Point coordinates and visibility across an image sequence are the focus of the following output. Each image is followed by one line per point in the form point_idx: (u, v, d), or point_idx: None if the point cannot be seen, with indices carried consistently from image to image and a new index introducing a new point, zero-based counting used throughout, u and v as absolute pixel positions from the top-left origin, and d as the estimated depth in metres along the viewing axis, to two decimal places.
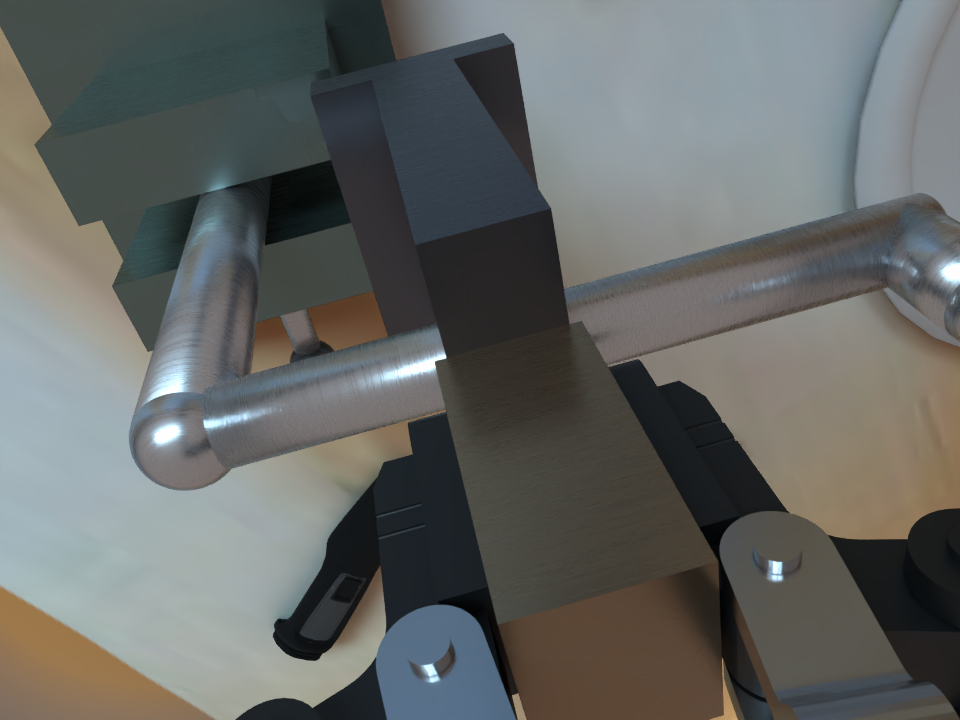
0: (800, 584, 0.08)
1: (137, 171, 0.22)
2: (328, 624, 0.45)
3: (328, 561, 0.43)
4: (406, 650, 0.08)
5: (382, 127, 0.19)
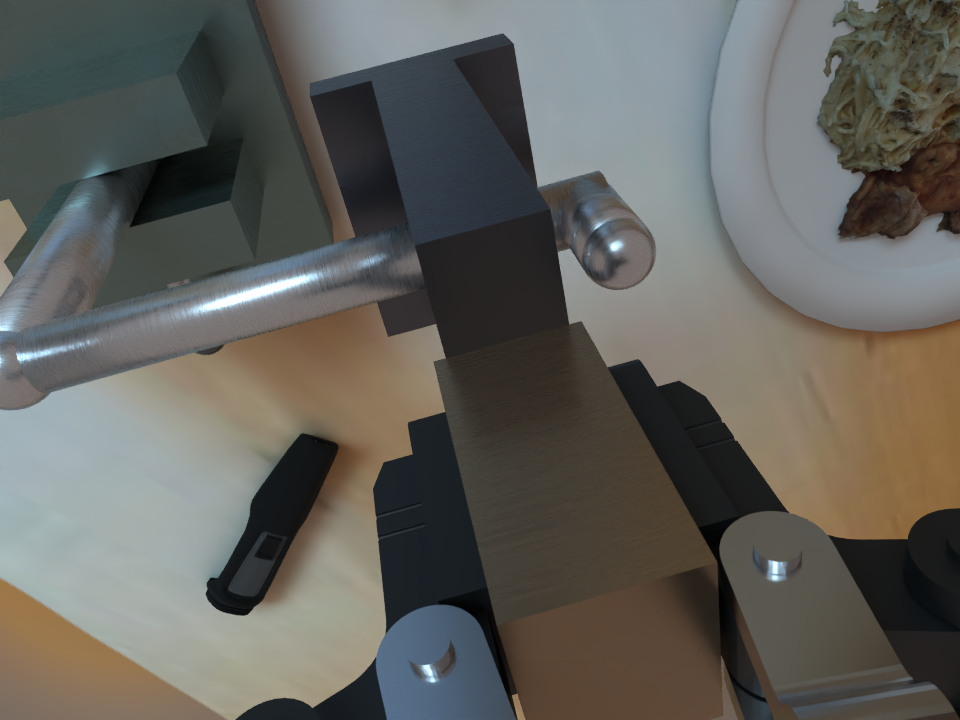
0: (800, 584, 0.08)
1: (17, 162, 0.25)
2: (254, 580, 0.48)
3: (251, 521, 0.47)
4: (406, 650, 0.08)
5: (382, 127, 0.19)
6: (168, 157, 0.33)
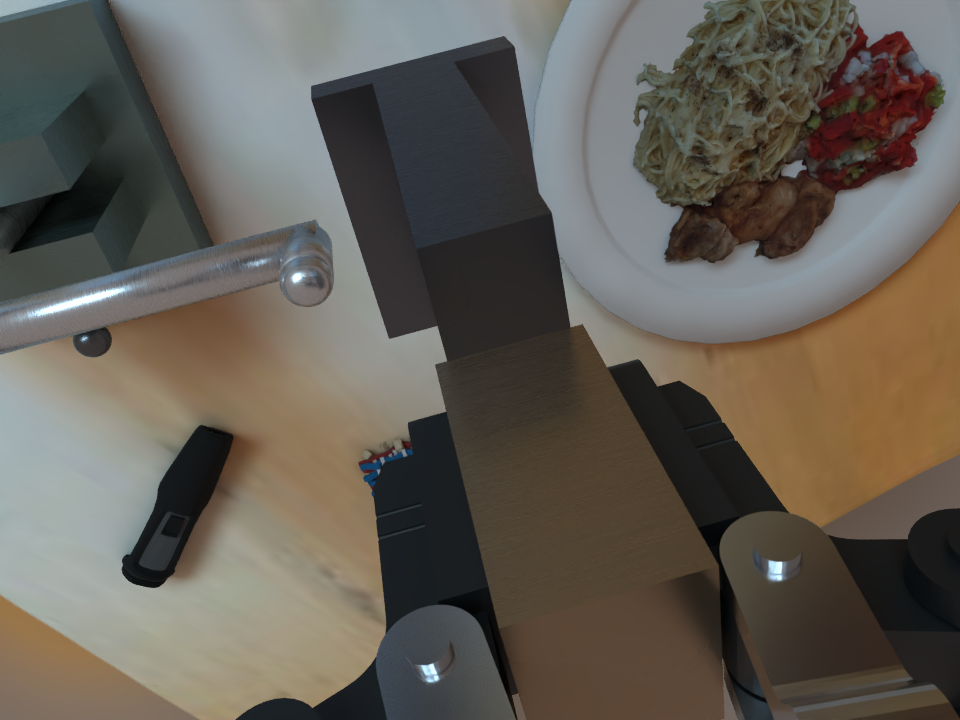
0: (800, 584, 0.08)
1: None
2: (161, 556, 0.55)
3: (158, 502, 0.53)
4: (406, 650, 0.08)
5: (383, 130, 0.19)
6: (61, 193, 0.40)
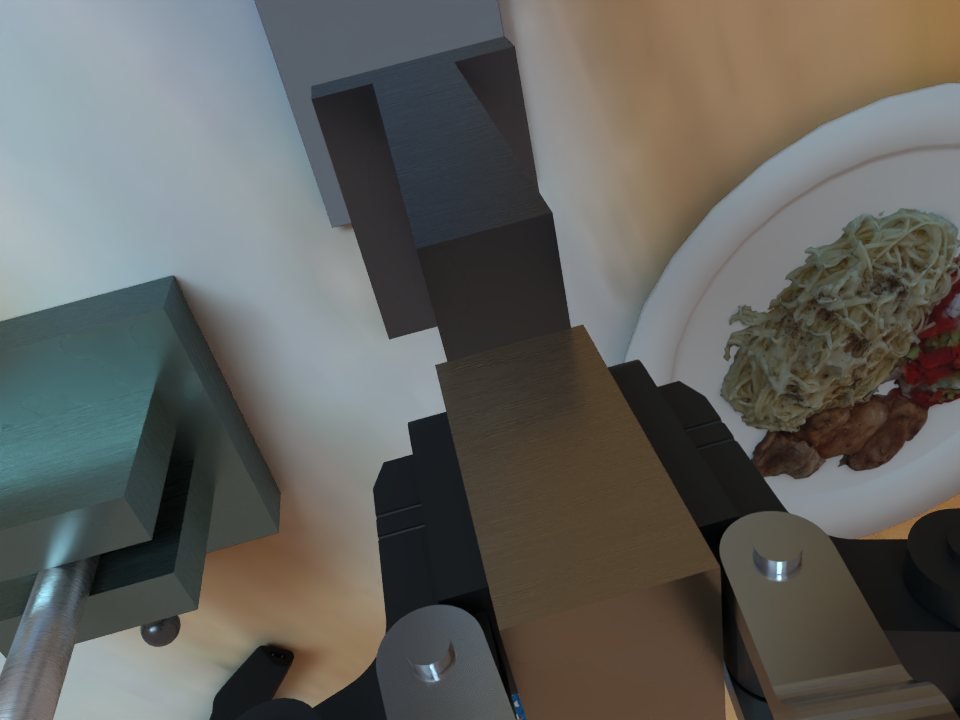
0: (800, 584, 0.08)
1: None
2: None
3: (213, 718, 0.51)
4: (406, 650, 0.08)
5: (383, 130, 0.19)
6: None
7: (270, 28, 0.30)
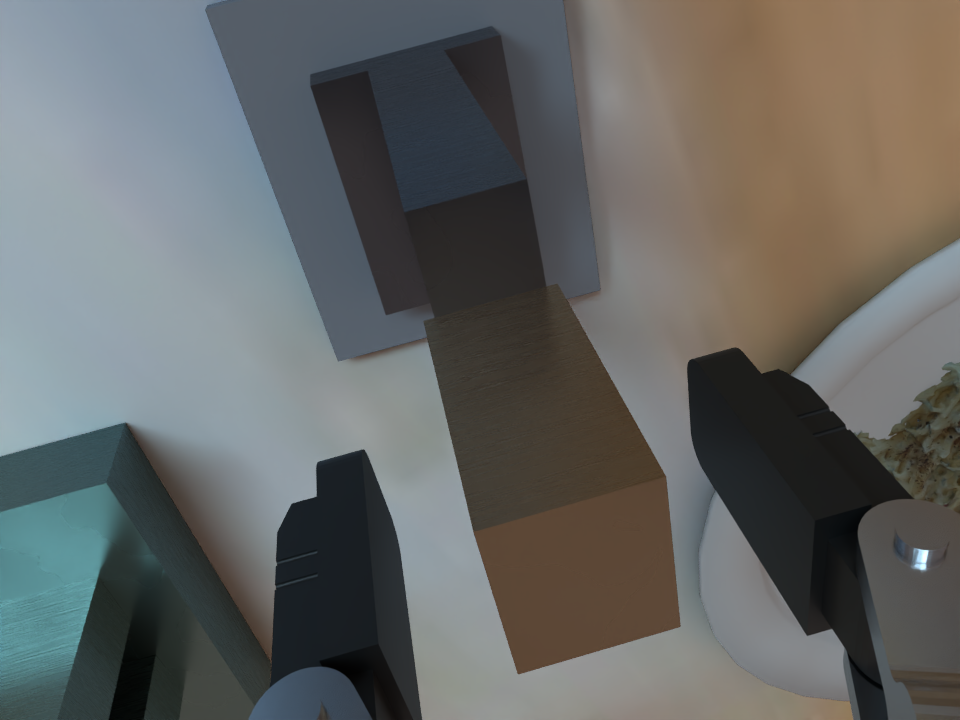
0: (939, 575, 0.08)
1: None
2: None
3: None
4: (276, 716, 0.08)
5: (378, 115, 0.21)
6: None
7: (252, 107, 0.21)
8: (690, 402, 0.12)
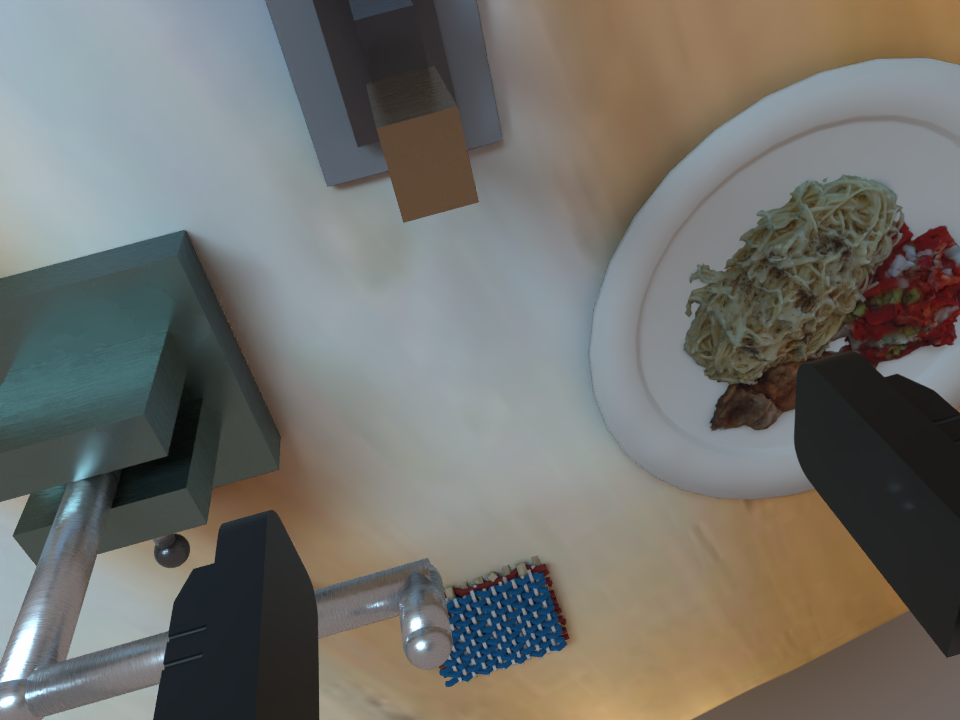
0: None
1: (24, 474, 0.34)
2: None
3: None
4: None
5: (350, 8, 0.34)
6: None
7: (272, 5, 0.34)
8: (797, 408, 0.12)
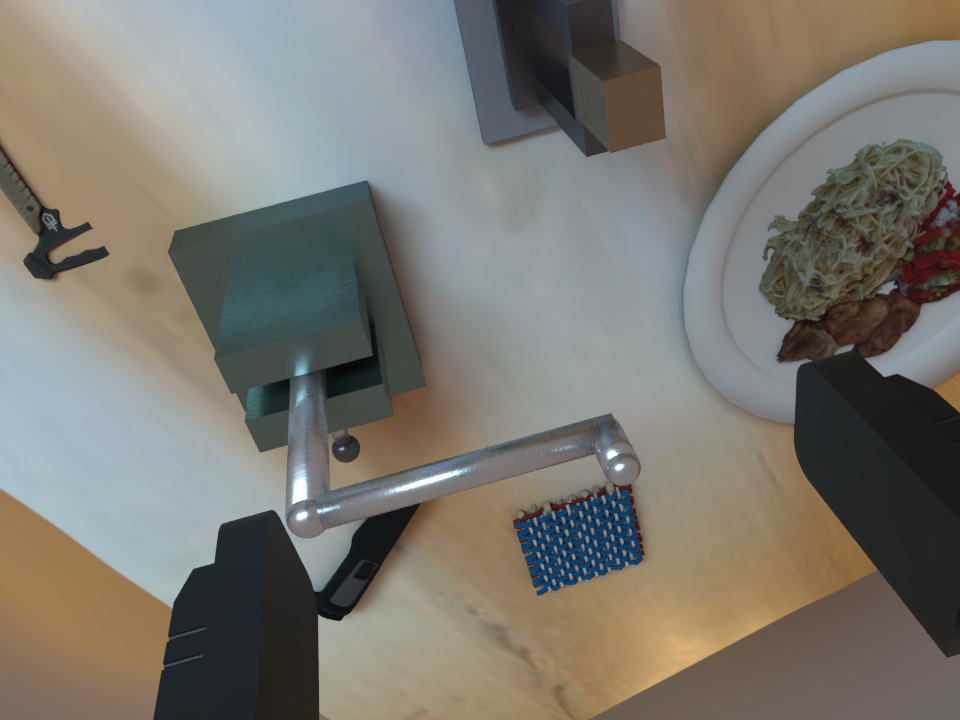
0: None
1: (263, 368, 0.42)
2: (349, 595, 0.65)
3: (352, 551, 0.63)
4: None
5: None
6: None
7: None
8: (797, 408, 0.12)
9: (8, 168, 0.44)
